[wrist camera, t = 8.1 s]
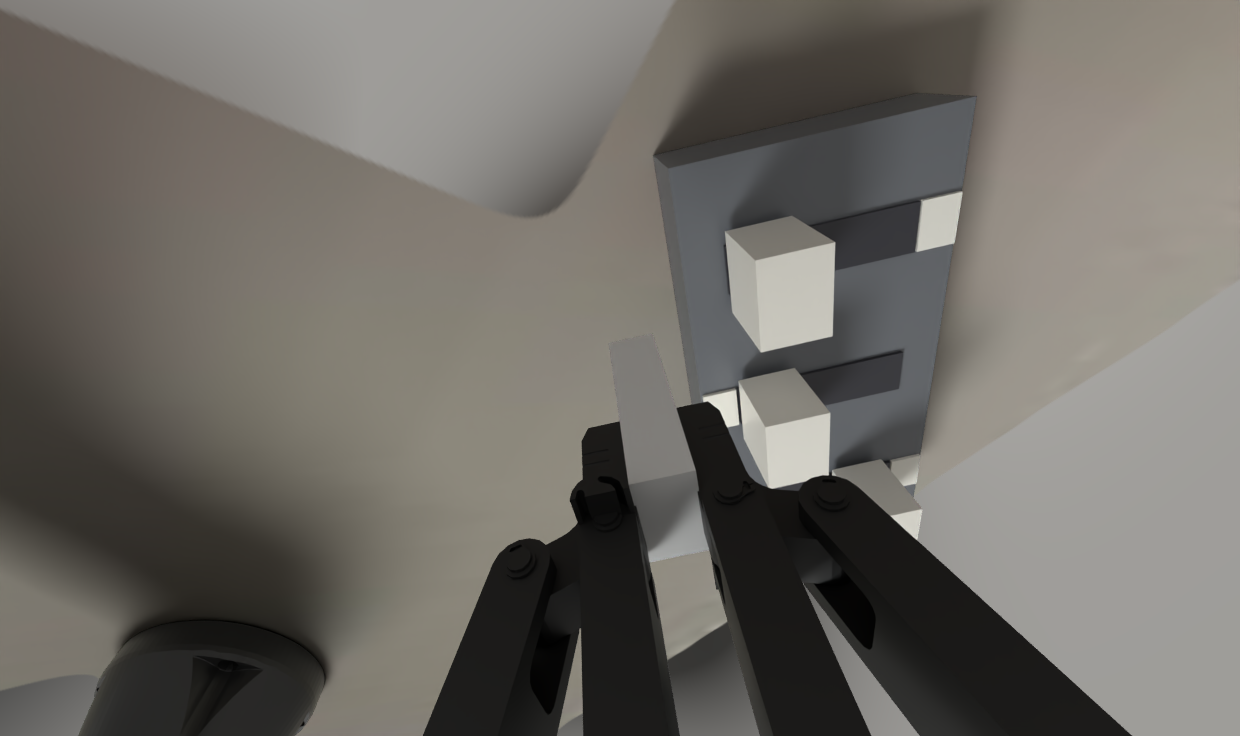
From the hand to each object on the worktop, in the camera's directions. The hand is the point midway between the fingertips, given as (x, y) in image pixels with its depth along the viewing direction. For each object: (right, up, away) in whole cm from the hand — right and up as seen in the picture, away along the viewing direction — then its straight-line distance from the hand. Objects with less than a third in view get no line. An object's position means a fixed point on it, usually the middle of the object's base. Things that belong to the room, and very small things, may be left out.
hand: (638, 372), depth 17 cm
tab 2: (+7, -2, +10) cm, 13 cm away
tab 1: (+6, +5, +6) cm, 10 cm away
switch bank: (+10, +1, +14) cm, 17 cm away
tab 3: (+14, -7, +14) cm, 21 cm away
